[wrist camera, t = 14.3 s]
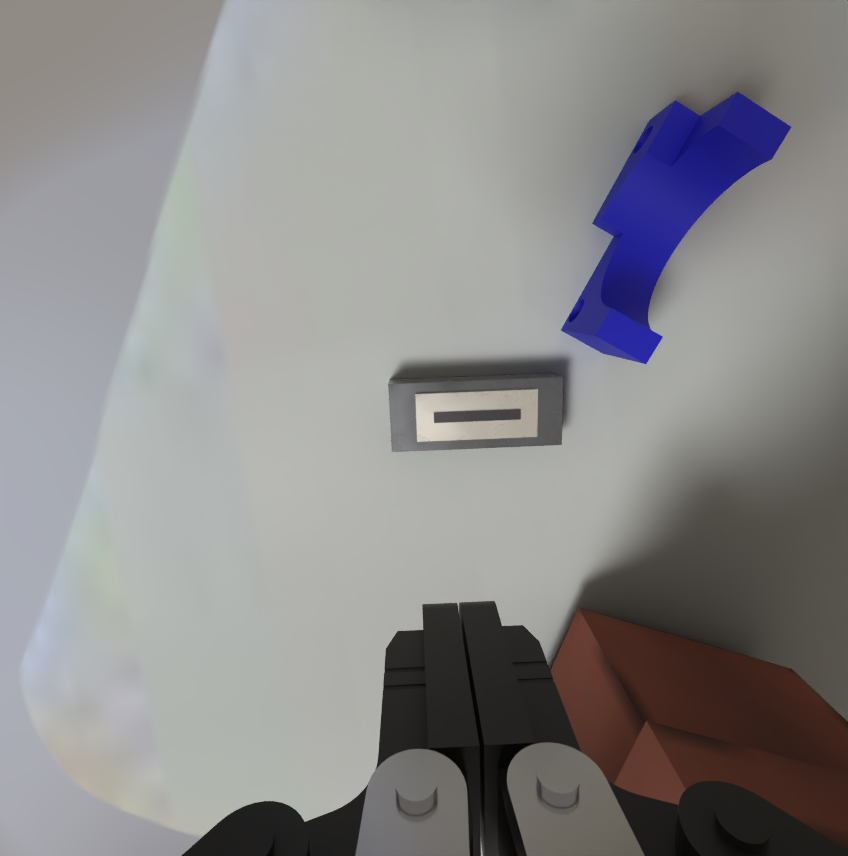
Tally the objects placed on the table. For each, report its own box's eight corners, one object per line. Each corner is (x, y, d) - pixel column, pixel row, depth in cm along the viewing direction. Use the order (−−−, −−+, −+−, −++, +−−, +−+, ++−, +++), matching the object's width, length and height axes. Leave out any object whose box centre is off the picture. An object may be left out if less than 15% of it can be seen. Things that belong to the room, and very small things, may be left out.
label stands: (565, -106, 26) (580, -146, 23) (552, 436, 32) (563, 445, 30) (364, -102, 25) (360, -142, 23) (393, 443, 32) (391, 453, 30)
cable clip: (647, 121, 28) (710, 73, 22) (714, 163, 29) (791, 127, 23) (538, 318, 31) (568, 321, 25) (601, 353, 31) (646, 363, 25)
